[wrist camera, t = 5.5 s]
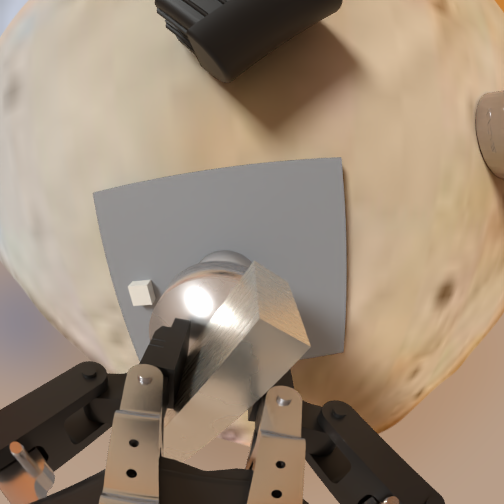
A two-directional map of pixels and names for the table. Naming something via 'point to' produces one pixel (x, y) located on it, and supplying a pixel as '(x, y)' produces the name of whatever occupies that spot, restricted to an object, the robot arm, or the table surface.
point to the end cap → (239, 28)
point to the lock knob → (226, 346)
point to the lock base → (232, 237)
